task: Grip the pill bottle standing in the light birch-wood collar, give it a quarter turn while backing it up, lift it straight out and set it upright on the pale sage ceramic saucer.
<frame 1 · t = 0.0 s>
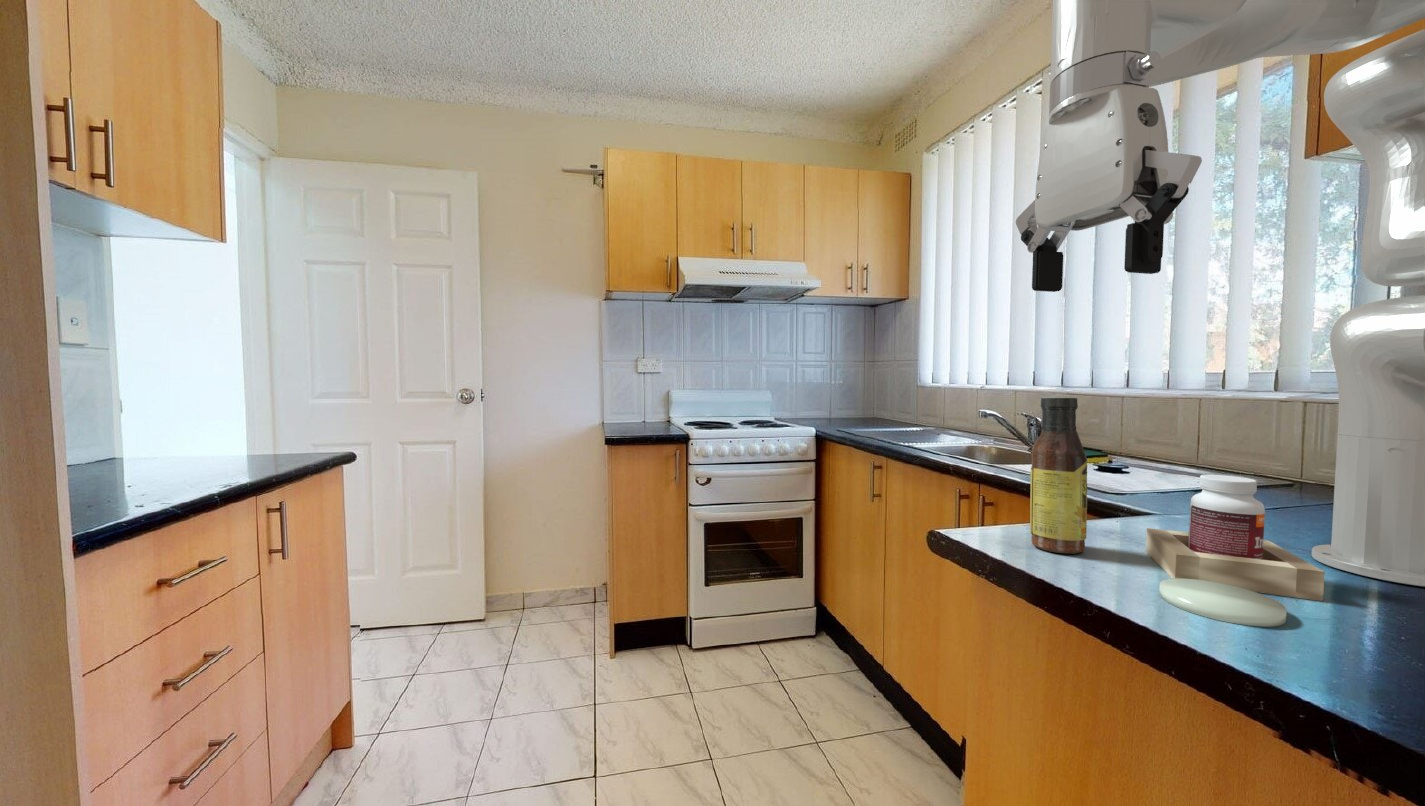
hand: (1090, 282, 50), 31 cm above the countertop, tool pointing down, fingers open, 9 cm apart
saucer: (1218, 605, 53), on the countertop
collar: (1223, 572, 61), on the countertop
pill bottle: (1223, 574, 61), resting in collar
sauce bottle: (1056, 549, 70), on the countertop
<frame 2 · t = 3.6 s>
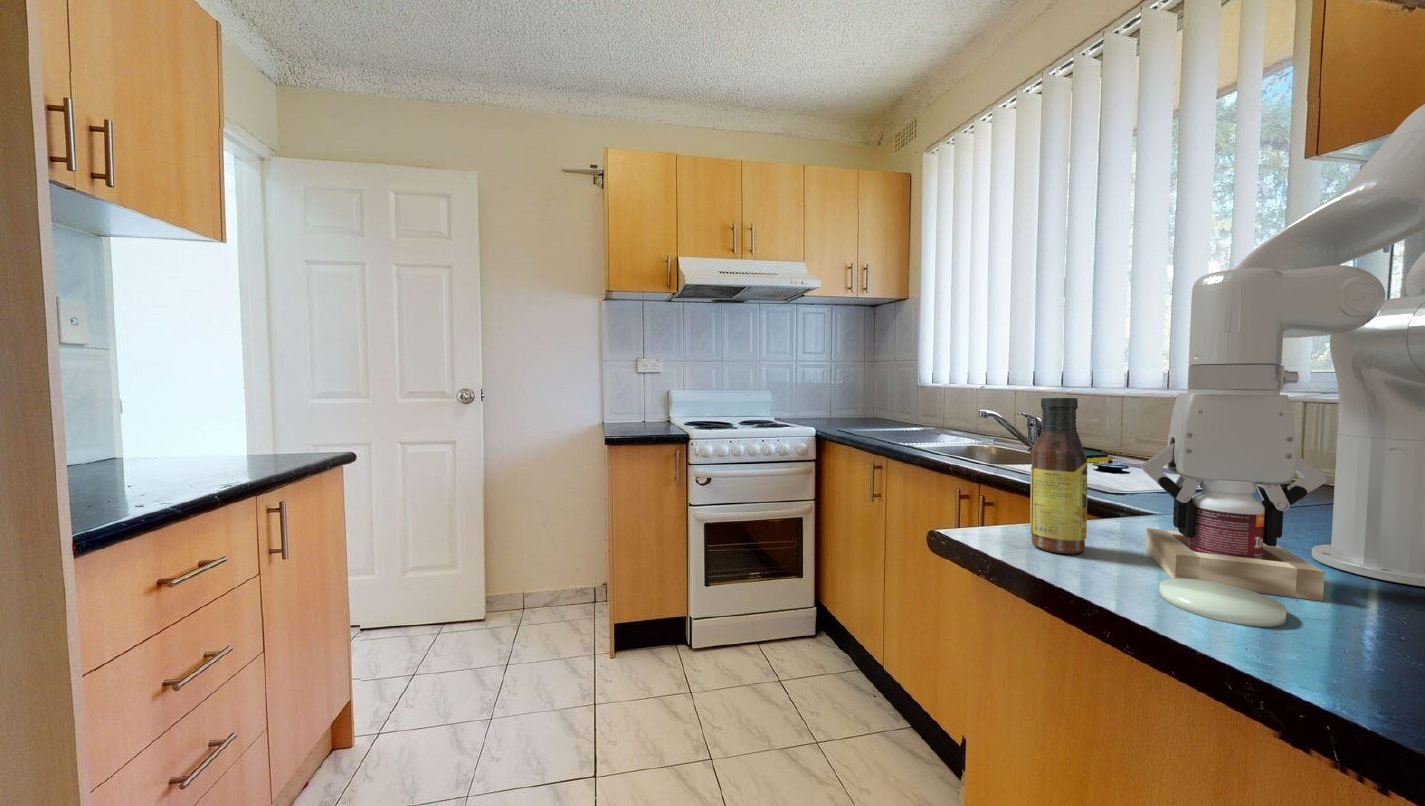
hand: (1224, 537, 61), 4 cm above the countertop, tool pointing down, fingers closed on pill bottle, 6 cm apart
pill bottle: (1223, 574, 61), resting in collar, touching gripper
everything else where it was.
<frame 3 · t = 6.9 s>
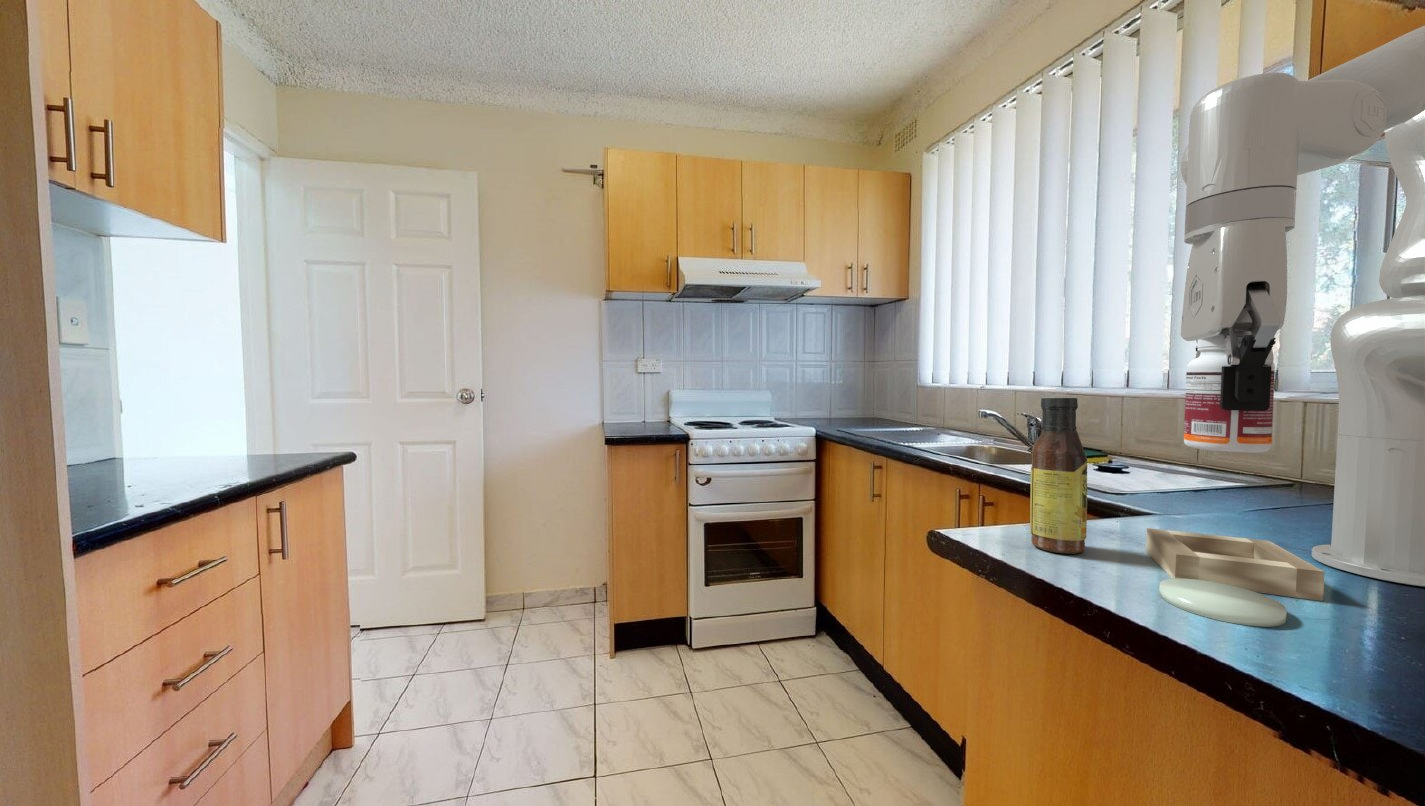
hand: (1228, 406, 52), 20 cm above the countertop, tool pointing down, fingers closed on pill bottle, 6 cm apart
pill bottle: (1224, 451, 52), point 15 cm above the countertop, touching gripper
everything else where it was.
when the fingers open (6 cm above the countertop, at t = 10.2 s): pill bottle drops 1 cm, resting on saucer.
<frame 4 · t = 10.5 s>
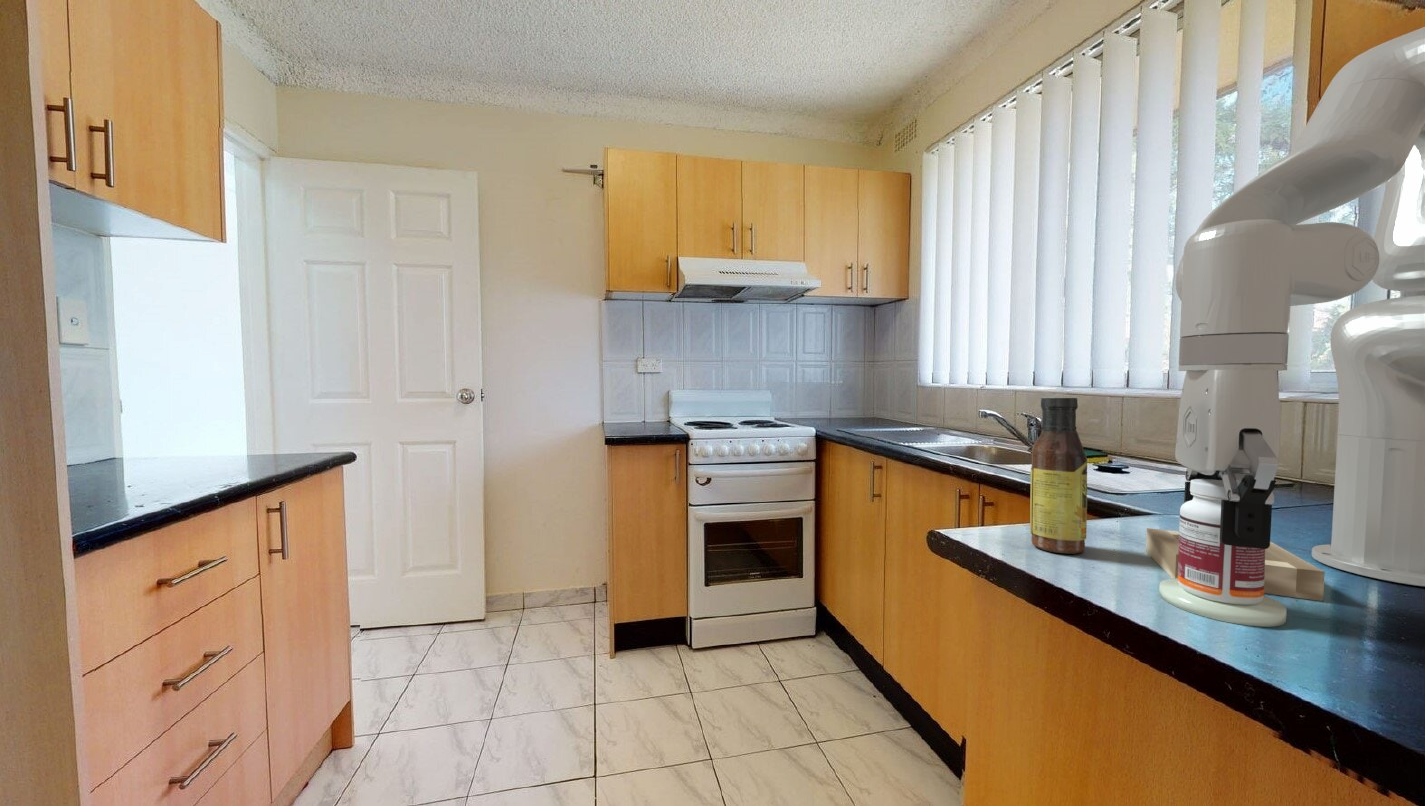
hand: (1222, 532, 52), 7 cm above the countertop, tool pointing down, fingers open, 9 cm apart
pill bottle: (1218, 596, 53), point 1 cm above the countertop, touching saucer
everything else where it was.
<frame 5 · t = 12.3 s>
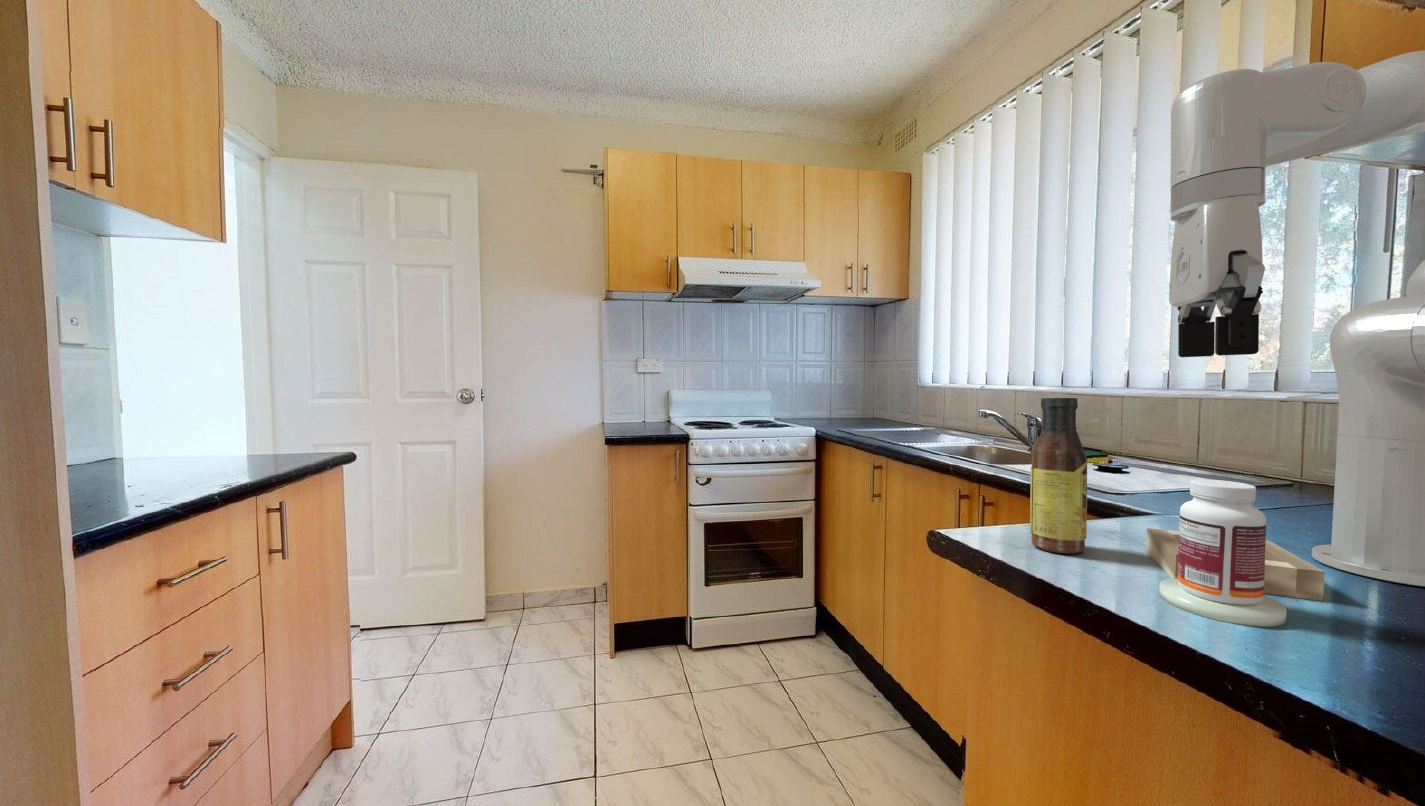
hand: (1214, 355, 59), 25 cm above the countertop, tool pointing down, fingers open, 9 cm apart
nothing on the countertop moved.
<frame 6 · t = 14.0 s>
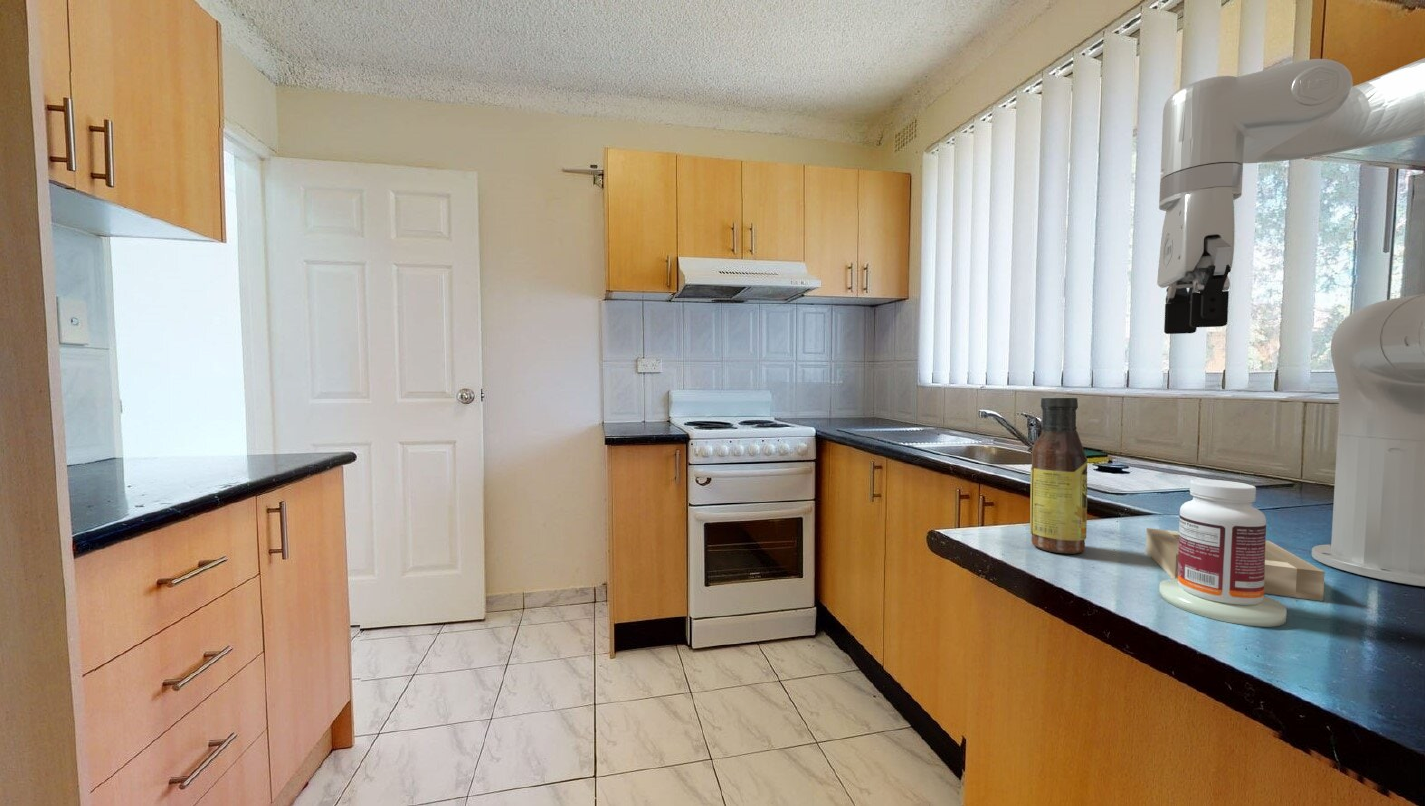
hand: (1193, 330, 66), 28 cm above the countertop, tool pointing down, fingers open, 9 cm apart
nothing on the countertop moved.
at the end: pill bottle 0.3 cm off-centre on the saucer, point 0.8 cm above the saucer's base; pill bottle tilted 0°; the gripper is holding nothing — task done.
